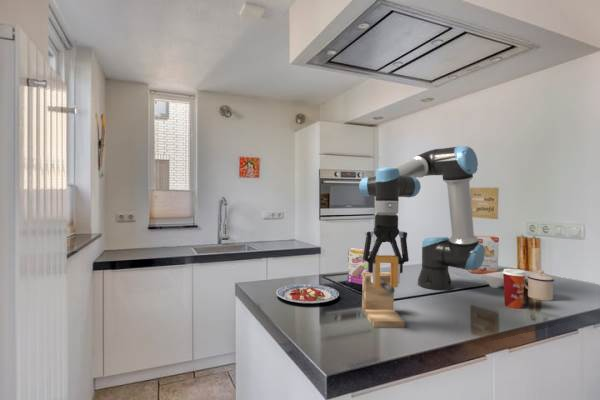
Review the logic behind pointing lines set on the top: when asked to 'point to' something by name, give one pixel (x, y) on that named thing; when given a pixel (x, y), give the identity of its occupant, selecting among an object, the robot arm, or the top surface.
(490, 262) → the cracker box
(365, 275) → the wooden l-shaped stand
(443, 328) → the top surface
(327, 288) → the ceramic plate
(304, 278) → the top surface
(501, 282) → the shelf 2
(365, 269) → the candy bar box
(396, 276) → the orange u-shaped bracket
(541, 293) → the teacup with lid
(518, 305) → the paper cup
